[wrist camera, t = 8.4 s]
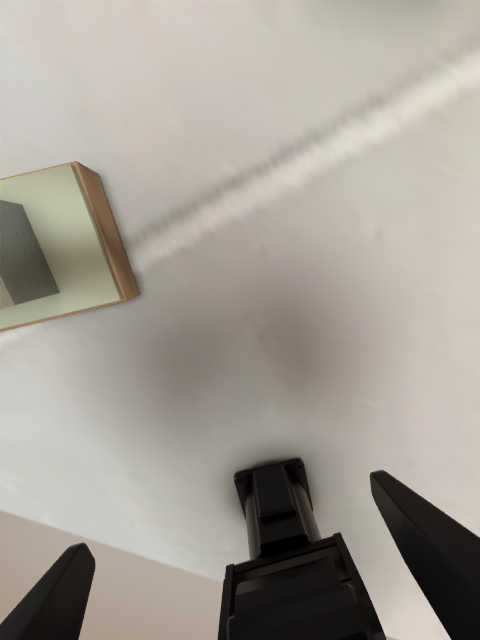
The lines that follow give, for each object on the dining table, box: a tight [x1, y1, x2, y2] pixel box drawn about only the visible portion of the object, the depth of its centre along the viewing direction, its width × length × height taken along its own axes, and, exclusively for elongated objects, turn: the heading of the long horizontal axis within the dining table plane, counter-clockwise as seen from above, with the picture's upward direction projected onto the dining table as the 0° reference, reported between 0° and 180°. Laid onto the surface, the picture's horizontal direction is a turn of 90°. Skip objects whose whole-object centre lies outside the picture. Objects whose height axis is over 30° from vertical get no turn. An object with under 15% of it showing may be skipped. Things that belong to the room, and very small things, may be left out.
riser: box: [0, 161, 140, 332], centre depth 16 cm, size 8×12×3 cm, turn 103°
